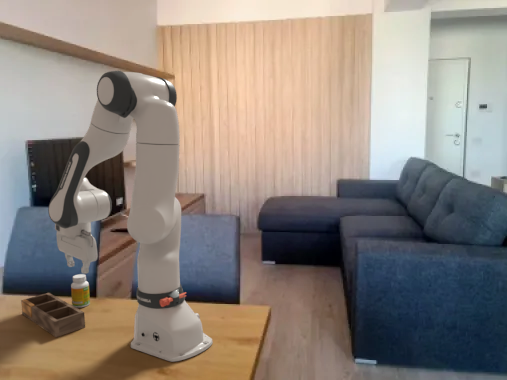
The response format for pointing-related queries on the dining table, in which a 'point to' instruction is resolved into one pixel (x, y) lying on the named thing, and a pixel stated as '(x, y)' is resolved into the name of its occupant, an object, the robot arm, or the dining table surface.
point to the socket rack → (53, 314)
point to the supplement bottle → (80, 291)
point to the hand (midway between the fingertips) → (77, 269)
